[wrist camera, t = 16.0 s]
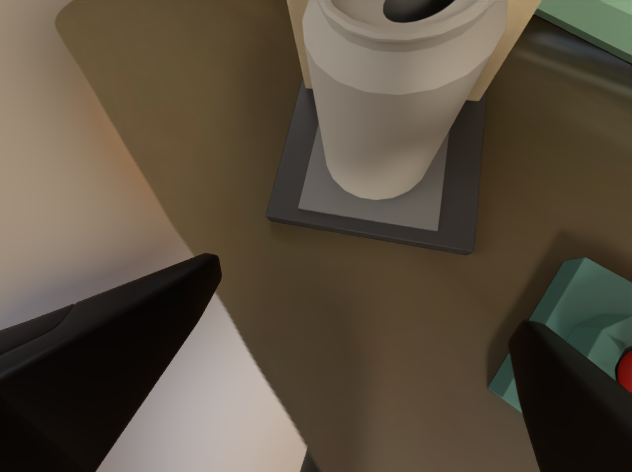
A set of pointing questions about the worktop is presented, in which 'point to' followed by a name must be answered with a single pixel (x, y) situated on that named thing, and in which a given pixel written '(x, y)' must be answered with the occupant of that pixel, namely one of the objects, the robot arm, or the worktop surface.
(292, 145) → the coffee maker
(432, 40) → the can
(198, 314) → the robot arm
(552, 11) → the container
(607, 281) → the control block
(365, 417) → the worktop surface
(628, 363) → the button
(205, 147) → the worktop surface
